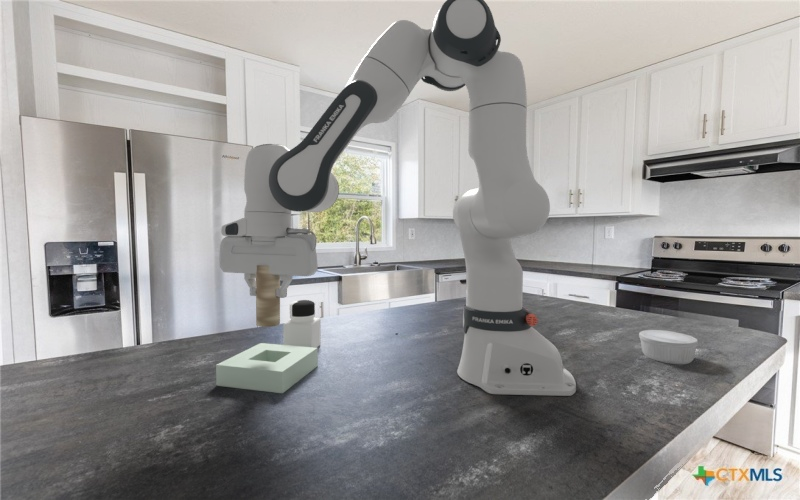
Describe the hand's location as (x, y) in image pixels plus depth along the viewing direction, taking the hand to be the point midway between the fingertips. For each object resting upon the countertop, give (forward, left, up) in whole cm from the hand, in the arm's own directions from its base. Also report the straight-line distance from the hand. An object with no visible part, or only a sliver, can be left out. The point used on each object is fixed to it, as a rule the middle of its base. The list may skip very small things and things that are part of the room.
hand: (268, 296), depth 74 cm
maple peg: (0, 0, -6) cm, 6 cm away
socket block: (0, 0, -16) cm, 16 cm away
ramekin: (-84, -32, -17) cm, 92 cm away
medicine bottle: (+2, -17, -16) cm, 24 cm away
